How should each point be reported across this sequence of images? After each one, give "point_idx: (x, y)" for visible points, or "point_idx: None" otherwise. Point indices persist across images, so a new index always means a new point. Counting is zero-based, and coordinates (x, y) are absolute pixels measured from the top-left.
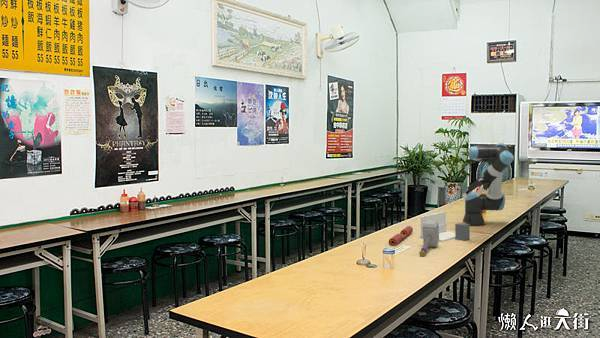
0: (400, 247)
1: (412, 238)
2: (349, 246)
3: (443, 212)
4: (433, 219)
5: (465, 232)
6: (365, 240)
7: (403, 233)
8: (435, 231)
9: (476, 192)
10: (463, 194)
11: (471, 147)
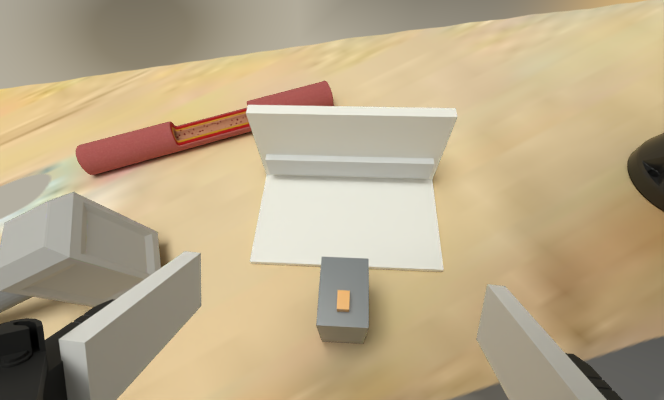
0: None
1: (246, 154)
2: (42, 93)
3: (435, 117)
4: (340, 133)
5: (321, 333)
6: (143, 81)
7: None
8: (28, 293)
9: (499, 302)
10: (171, 266)
11: None
